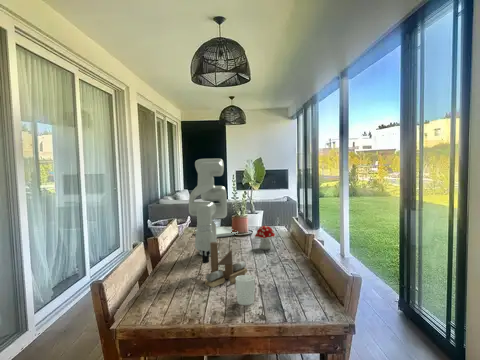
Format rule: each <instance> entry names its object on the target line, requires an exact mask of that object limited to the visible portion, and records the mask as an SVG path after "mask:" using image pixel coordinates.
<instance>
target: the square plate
mask: <svg viewBox="0 0 480 360" xmlns="http://www.w3.org/2000/svg"><path fill="white" fill-rule="evenodd" d="M196 230H197V229H194V231H195V233H196ZM232 230H233V229H232V228H230V227H226V226H216V236H217V238H224V237H225V238H226V237H232V236H235V235H237V234H238V233H239V231H237V232H232ZM231 232H232V233H231ZM236 233H237V234H236ZM234 234H235V235H234Z"/></svg>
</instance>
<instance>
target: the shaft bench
mask: <svg viewBox="0 0 480 360" xmlns="http://www.w3.org/2000/svg"><path fill="white" fill-rule="evenodd" d="M232 264H233V274H232V275H230V279H229V284H231V285H233V284H236V280H235V278H236V277H237V276H240V275H246V274H247V273H248V268H247V267H246V266H247V265H246V262H245V261H244V260H241V261H238V262H236V263H232ZM222 270H223V269H218V271H215V272H213V273H211V272H209V273H207V274H206V276H205V278H206V280H205V282H204V284H205V286H207V287H211V288H215V287H217V286H220V285H221V284H224V283H225V280H226V279H224V278H222V277H223V272H222Z"/></svg>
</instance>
